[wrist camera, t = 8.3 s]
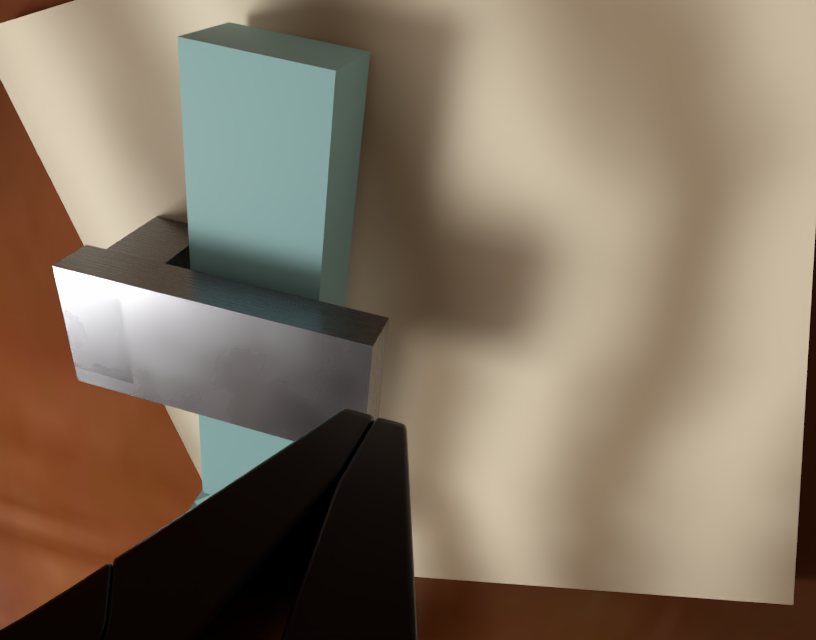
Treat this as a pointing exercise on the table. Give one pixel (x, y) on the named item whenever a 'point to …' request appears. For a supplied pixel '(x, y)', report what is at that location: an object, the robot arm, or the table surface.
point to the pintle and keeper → (214, 337)
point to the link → (268, 182)
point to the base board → (527, 259)
